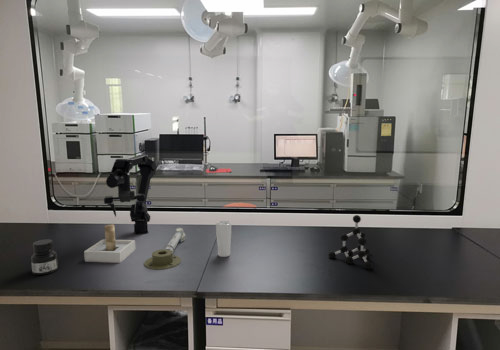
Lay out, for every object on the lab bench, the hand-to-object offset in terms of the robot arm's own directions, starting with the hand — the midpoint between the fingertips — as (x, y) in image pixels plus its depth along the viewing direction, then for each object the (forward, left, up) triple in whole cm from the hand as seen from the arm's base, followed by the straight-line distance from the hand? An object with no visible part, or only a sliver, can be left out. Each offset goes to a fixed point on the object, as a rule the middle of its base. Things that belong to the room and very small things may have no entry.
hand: (125, 215), depth 172 cm
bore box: (+7, +18, -13) cm, 23 cm away
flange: (-13, +35, -14) cm, 39 cm away
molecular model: (-92, +62, -14) cm, 112 cm away
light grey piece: (-21, +18, -13) cm, 31 cm away
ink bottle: (+32, +26, -13) cm, 43 cm away
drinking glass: (-39, +37, -13) cm, 55 cm away
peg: (+7, +18, -12) cm, 23 cm away
